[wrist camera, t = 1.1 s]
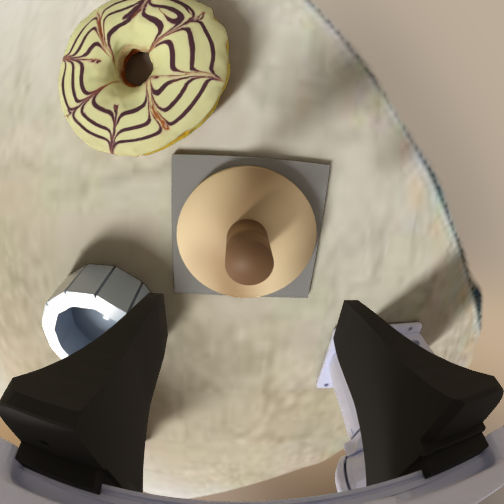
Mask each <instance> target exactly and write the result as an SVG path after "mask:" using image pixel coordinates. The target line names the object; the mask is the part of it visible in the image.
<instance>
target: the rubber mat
mask: <svg viewBox="0 0 504 504" xmlns="http://www.w3.org/2000/svg"><path fill="white" fill-rule="evenodd" d="M242 165H252V166H260V167H264V168H268V169H271V170H273V171H276V172H278V173H280V174H282V175H283V176H285V177H287V178H288V179H289V180H290V181H292V182H293V183H294V184H295V185H296V186H297V187H298V188H299V189H300V191H301V192H302V193H303V194H304V196H305V197H306V199H307V200H308V202H309V204H310V206H311V208H312V210H313V213H314V216H315V221H316V230H317V235H316V243H315V248H314V251H313V254H312V256H311V259H310V260H309V262H308V264H307V266H306V267H305V268H304V270H303V271H302V272H301V274H300V275H299V276H298V277H297V278H296V279H294V280H293V281H292V282H291V283H290V284H288V285H287V286H285V287H284V288H282V289H280V290H278V291H276V292H273V293H270V294H268V295H264V296H260V297H292V298H308V293H309V289H310V284H311V279H312V273H313V268H314V263H315V258H316V252H317V247H318V241H319V235H320V229H321V223H322V217H323V211H324V205H325V198H326V192H327V185H328V178H329V170H330V165H329V164H321V163H313V162H304V161H295V160H285V159H274V158H261V157H247V156H231V155H208V154H172V246H173V270H174V287H175V292H177V293H193V294H211V295H224V294H221V293H218V292H216V291H214V290H212V289H210V288H208V287H206V286H205V285H203V284H202V283H201V282H200V281H198V280H197V279H196V278H195V277H194V276H193V275H192V274H191V272H190V271H189V270H188V268H187V267H186V265H185V263H184V262H183V260H182V257H181V255H180V252H179V248H178V244H177V224H178V219H179V216H180V213H181V210H182V208H183V206H184V204H185V202H186V200H187V199H188V197H189V195H190V194H191V193H192V191H193V190H194V189H195V188H196V187H197V186H198V185H199V184H200V183H201V182H202V181H203V180H205V179H206V178H207V177H209V176H211V175H212V174H214V173H216V172H218V171H221V170H223V169H226V168H230V167H235V166H242Z"/></svg>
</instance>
